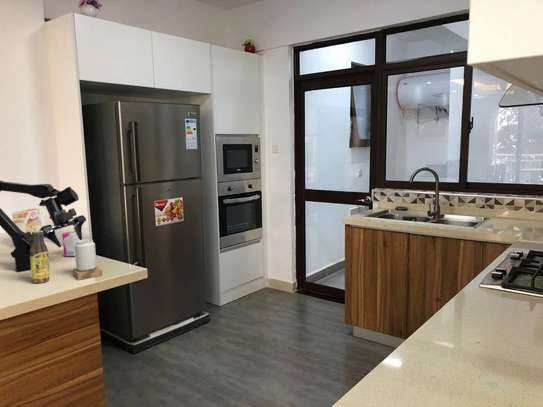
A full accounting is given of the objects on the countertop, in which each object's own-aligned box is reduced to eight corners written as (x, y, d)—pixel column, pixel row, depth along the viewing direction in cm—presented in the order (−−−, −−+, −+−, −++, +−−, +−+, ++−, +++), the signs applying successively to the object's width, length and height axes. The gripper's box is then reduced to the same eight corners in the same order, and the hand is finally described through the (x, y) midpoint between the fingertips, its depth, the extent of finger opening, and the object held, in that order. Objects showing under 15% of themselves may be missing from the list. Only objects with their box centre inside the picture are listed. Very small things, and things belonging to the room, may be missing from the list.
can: (72, 271, 168) (70, 242, 166) (83, 266, 175) (81, 238, 173) (89, 272, 166) (87, 242, 165) (100, 267, 174) (98, 238, 172)
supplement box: (81, 254, 208) (79, 231, 206) (75, 257, 202) (73, 233, 201) (70, 254, 209) (68, 231, 207) (63, 257, 203) (61, 233, 201)
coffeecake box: (28, 248, 223) (24, 212, 221) (15, 248, 224) (11, 212, 221) (43, 242, 238) (40, 208, 236) (31, 242, 238) (27, 208, 236)
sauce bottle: (37, 285, 160) (32, 233, 158) (28, 282, 163) (23, 232, 161) (54, 280, 166) (49, 230, 163) (45, 278, 169) (40, 229, 166)
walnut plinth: (78, 280, 165) (78, 274, 164) (73, 275, 172) (72, 269, 172) (102, 275, 170) (101, 269, 170) (96, 270, 177) (95, 265, 177)
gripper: (39, 209, 168) (55, 244, 167) (83, 198, 182) (98, 230, 181) (31, 219, 176) (46, 253, 174) (74, 208, 190) (88, 239, 189)
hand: (71, 243), depth 179 cm, fingers open, 9 cm apart
